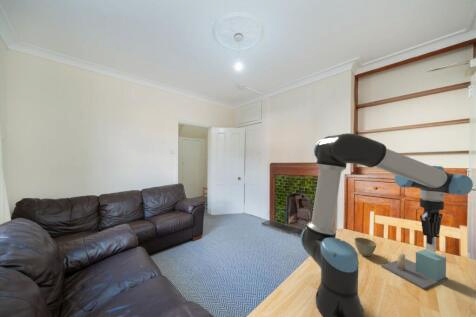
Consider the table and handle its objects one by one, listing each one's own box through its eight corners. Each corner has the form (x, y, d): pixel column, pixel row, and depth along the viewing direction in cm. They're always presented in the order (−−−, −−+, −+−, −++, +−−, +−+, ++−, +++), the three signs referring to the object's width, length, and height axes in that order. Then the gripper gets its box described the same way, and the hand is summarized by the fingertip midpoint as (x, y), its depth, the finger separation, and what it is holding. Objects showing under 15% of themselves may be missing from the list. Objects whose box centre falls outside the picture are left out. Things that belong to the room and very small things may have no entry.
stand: (423, 289, 74) (424, 269, 74) (381, 266, 89) (381, 250, 89) (447, 279, 80) (448, 260, 80) (404, 259, 95) (404, 244, 95)
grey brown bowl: (376, 261, 94) (376, 247, 94) (353, 254, 100) (353, 242, 100) (376, 252, 102) (376, 240, 101) (355, 247, 108) (355, 235, 108)
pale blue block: (436, 281, 78) (437, 260, 78) (415, 270, 84) (415, 252, 84) (445, 277, 80) (446, 257, 80) (424, 267, 87) (424, 249, 87)
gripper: (434, 202, 76) (433, 257, 76) (451, 200, 80) (450, 252, 81) (412, 198, 83) (411, 249, 83) (428, 196, 87) (428, 244, 88)
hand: (430, 250), depth 82 cm, fingers closed
